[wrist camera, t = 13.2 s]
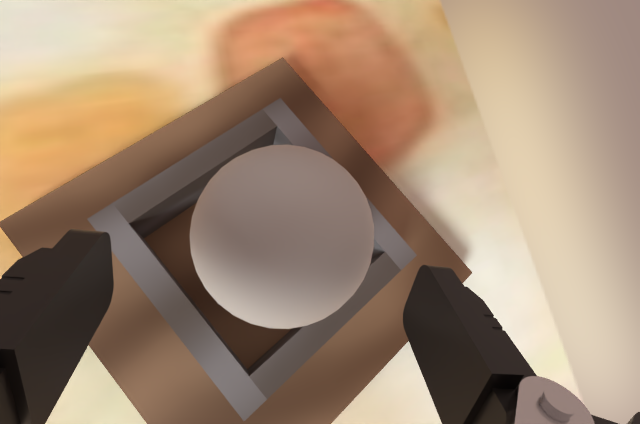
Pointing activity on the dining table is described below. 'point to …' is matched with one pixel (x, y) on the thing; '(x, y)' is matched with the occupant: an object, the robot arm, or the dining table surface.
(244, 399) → the bulb socket
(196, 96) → the dining table surface
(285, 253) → the lightbulb
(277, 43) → the dining table surface
